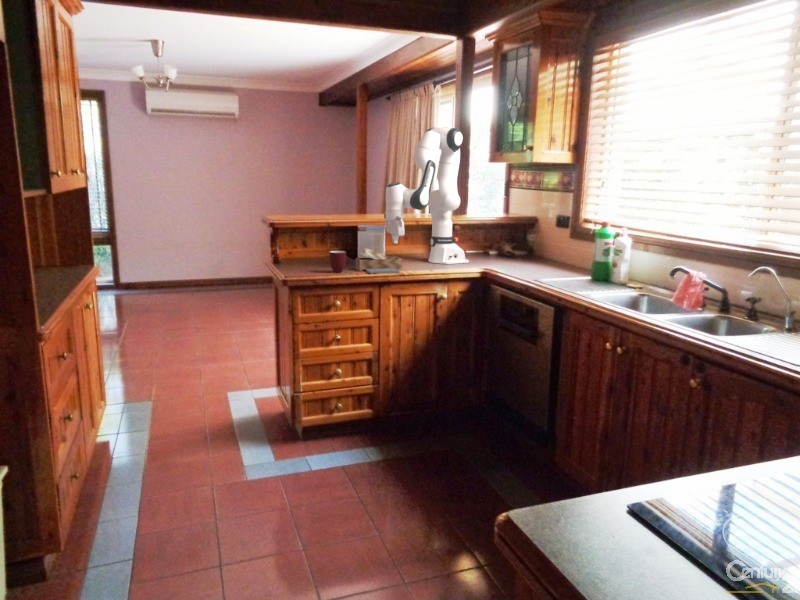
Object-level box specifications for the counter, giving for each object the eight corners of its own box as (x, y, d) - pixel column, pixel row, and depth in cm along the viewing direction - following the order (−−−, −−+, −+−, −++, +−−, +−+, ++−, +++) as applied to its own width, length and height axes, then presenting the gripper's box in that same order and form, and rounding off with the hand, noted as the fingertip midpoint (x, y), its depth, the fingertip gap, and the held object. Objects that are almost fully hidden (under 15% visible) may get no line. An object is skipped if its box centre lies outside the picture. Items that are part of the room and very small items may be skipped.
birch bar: (382, 259, 313) (383, 254, 313) (384, 260, 309) (386, 255, 309) (362, 252, 309) (364, 247, 309) (364, 253, 305) (366, 248, 305)
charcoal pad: (394, 270, 309) (394, 268, 308) (399, 273, 302) (399, 270, 301) (365, 271, 304) (365, 269, 304) (369, 274, 297) (369, 271, 297)
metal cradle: (394, 265, 317) (395, 262, 317) (398, 267, 312) (399, 263, 312) (360, 253, 310) (361, 249, 310) (363, 255, 305) (364, 251, 304)
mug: (344, 269, 308) (344, 250, 306) (353, 272, 301) (353, 251, 299) (326, 271, 301) (326, 251, 299) (335, 274, 295) (335, 253, 293)
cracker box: (385, 263, 330) (385, 224, 326) (383, 265, 324) (384, 225, 320) (359, 262, 331) (359, 223, 327) (357, 264, 325) (357, 224, 321)
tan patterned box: (396, 267, 319) (397, 256, 318) (401, 269, 311) (402, 258, 310) (355, 268, 312) (355, 257, 311) (359, 271, 305) (359, 260, 303)
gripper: (407, 217, 300) (407, 245, 303) (394, 213, 319) (395, 240, 322) (395, 217, 298) (395, 246, 301) (382, 214, 317) (383, 241, 320)
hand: (395, 243), depth 312 cm, fingers closed
